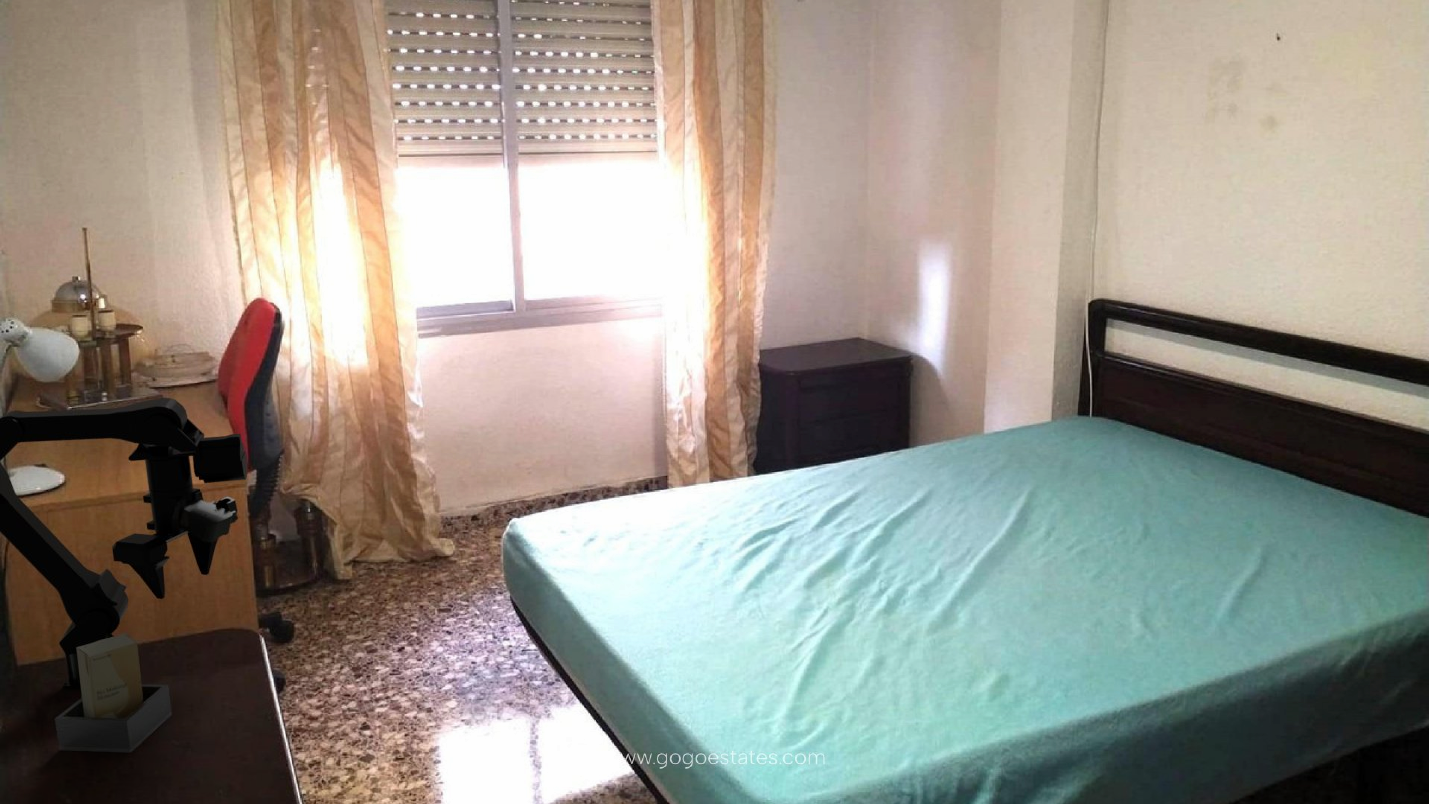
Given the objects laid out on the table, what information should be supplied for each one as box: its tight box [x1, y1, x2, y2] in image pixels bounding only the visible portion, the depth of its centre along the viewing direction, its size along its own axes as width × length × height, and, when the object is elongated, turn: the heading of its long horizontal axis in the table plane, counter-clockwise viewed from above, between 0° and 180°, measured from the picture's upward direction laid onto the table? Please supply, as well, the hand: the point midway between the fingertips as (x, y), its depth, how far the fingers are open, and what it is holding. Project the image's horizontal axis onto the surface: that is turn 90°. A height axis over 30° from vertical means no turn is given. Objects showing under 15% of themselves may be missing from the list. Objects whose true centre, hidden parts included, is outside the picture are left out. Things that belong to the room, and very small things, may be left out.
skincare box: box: [76, 633, 143, 719], centre depth 142 cm, size 6×4×12 cm
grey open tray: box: [54, 683, 173, 753], centre depth 142 cm, size 10×10×4 cm
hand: (183, 586), depth 158 cm, fingers open, 9 cm apart
